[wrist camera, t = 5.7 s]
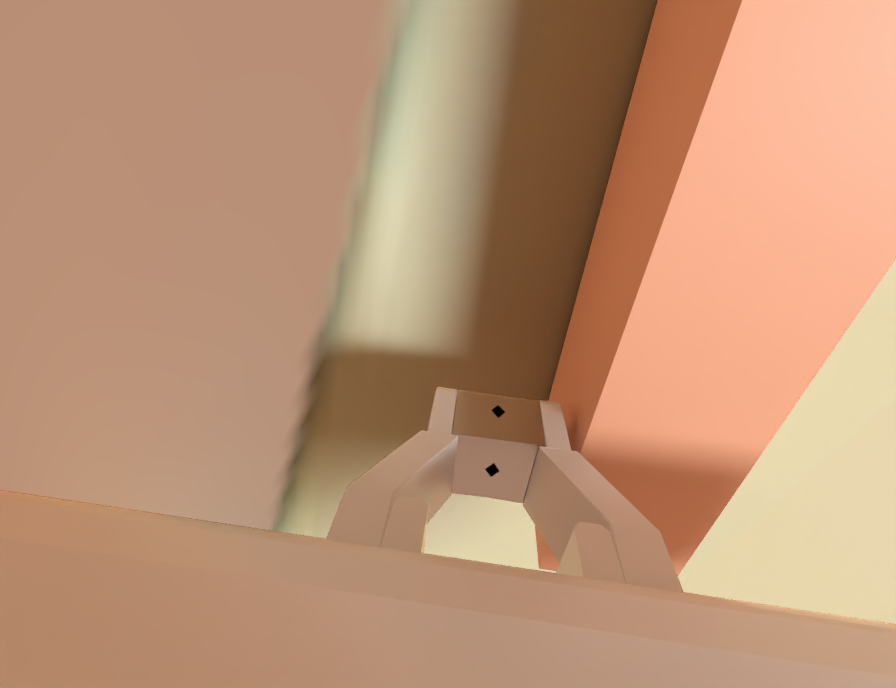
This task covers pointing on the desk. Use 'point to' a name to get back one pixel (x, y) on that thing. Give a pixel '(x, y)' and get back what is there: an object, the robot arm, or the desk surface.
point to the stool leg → (729, 246)
